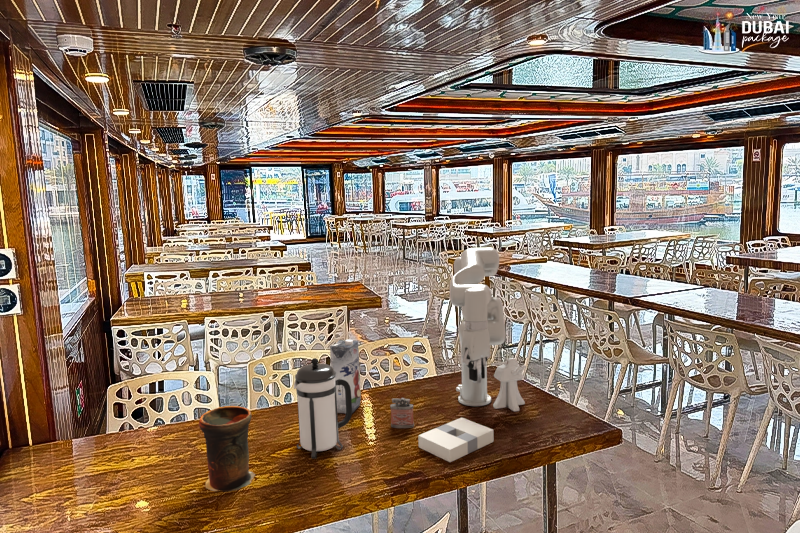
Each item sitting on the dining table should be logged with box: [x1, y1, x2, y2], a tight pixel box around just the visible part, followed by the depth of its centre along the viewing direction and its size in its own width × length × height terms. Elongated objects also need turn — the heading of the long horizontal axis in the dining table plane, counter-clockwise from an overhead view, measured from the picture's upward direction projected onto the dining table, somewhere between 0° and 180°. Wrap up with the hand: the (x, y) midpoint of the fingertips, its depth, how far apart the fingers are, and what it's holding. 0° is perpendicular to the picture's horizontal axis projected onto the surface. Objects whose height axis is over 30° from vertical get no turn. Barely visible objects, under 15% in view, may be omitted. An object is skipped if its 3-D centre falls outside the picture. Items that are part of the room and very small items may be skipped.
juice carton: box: [329, 339, 362, 414], centre depth 213 cm, size 9×10×27 cm
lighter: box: [389, 397, 415, 429], centre depth 198 cm, size 8×3×10 cm, turn 84°
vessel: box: [198, 405, 256, 493], centre depth 164 cm, size 14×14×20 cm
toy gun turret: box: [490, 357, 527, 412], centre depth 212 cm, size 12×13×18 cm
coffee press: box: [293, 357, 353, 460], centre depth 182 cm, size 17×16×30 cm
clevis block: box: [417, 416, 495, 463], centre depth 183 cm, size 20×14×4 cm
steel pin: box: [472, 355, 483, 383], centre depth 192 cm, size 4×4×10 cm
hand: (477, 378), depth 192 cm, fingers closed on steel pin, 3 cm apart
